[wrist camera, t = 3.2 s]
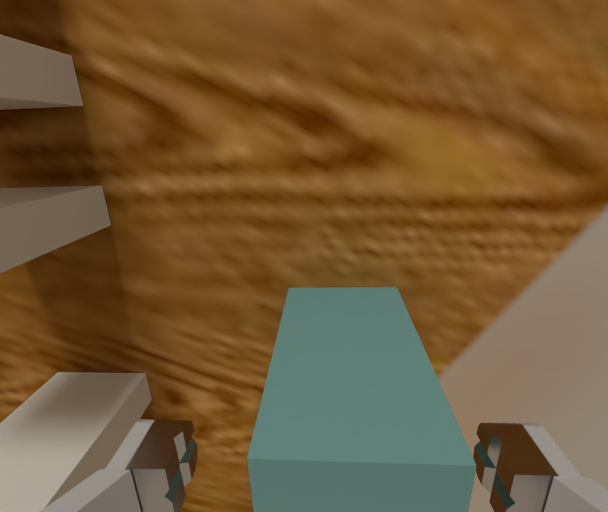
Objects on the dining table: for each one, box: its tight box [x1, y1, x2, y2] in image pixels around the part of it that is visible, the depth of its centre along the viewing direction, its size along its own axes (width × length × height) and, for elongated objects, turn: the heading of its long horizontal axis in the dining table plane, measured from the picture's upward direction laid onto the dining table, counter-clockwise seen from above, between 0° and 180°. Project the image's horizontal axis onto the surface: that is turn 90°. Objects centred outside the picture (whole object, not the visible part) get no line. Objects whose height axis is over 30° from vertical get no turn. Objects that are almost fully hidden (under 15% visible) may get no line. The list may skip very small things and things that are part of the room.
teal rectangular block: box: [247, 287, 476, 512], centre depth 12 cm, size 5×2×9 cm, turn 92°
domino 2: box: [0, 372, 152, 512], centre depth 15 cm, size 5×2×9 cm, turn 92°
